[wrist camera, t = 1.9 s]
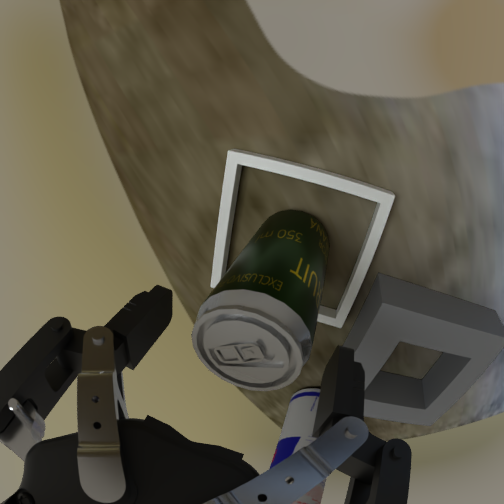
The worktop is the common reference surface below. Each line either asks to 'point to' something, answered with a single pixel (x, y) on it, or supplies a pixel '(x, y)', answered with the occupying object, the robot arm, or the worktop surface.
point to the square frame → (315, 176)
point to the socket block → (425, 335)
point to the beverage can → (300, 435)
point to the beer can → (266, 305)
